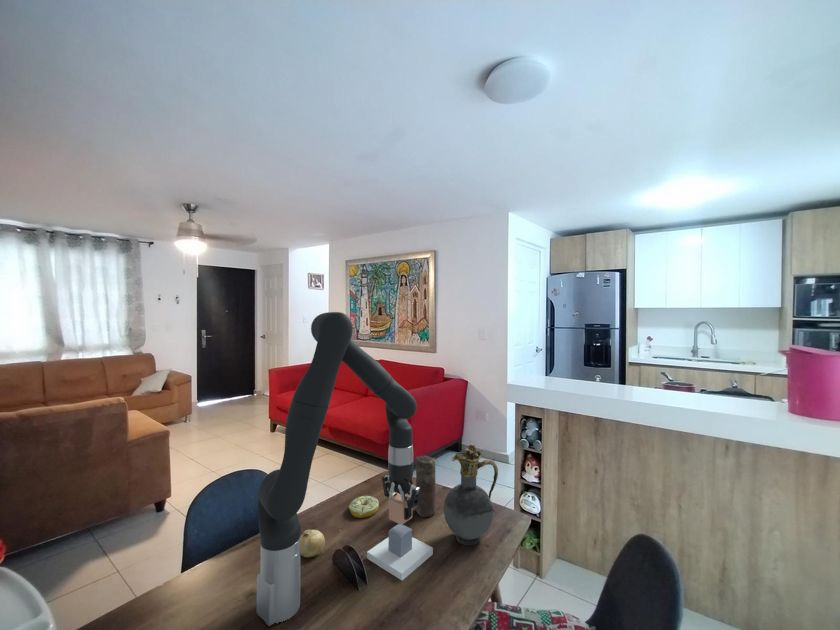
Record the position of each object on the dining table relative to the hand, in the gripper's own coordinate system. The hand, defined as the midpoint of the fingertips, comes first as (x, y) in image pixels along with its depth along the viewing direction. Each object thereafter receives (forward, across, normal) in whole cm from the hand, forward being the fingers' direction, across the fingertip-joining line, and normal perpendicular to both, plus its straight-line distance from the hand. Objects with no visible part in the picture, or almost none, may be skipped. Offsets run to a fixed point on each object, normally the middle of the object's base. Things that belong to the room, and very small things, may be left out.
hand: (400, 515), depth 109 cm
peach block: (+1, 0, 0) cm, 1 cm away
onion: (+13, -22, -16) cm, 30 cm away
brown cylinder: (+13, -9, +24) cm, 29 cm away
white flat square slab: (+12, 0, 0) cm, 12 cm away
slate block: (+10, 0, 0) cm, 10 cm away
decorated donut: (+13, -27, +10) cm, 32 cm away
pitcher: (+13, +12, +22) cm, 28 cm away
